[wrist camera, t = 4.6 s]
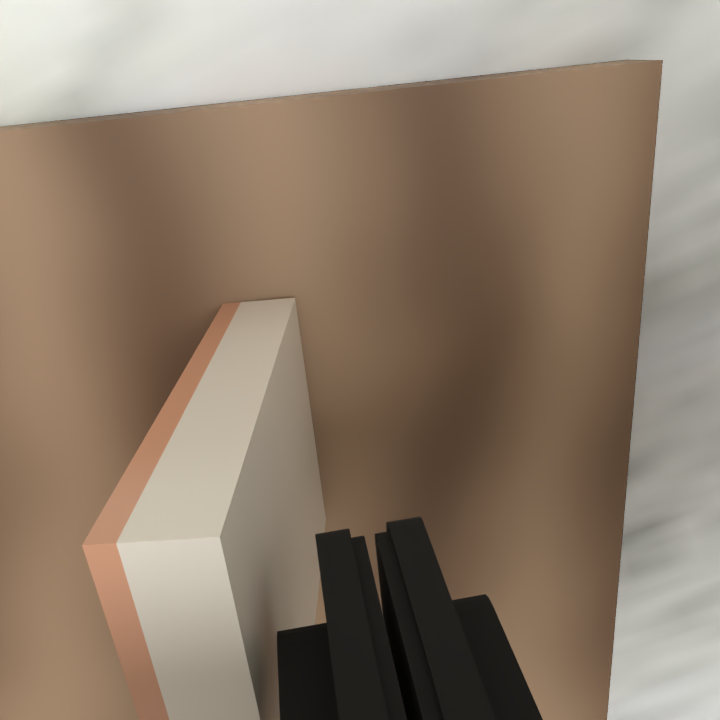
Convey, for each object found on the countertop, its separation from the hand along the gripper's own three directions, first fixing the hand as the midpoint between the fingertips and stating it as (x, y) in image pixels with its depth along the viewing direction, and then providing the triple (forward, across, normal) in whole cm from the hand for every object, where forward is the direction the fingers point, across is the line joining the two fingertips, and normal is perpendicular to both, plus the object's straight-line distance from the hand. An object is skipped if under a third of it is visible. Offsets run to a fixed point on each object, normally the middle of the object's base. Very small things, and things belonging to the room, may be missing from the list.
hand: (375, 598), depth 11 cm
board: (+8, +4, +8) cm, 12 cm away
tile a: (+6, +1, 0) cm, 6 cm away
